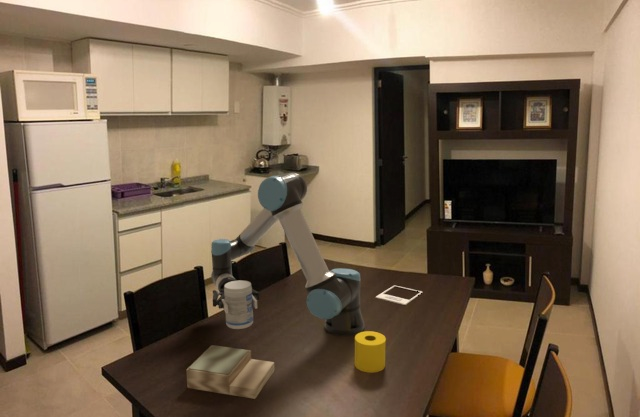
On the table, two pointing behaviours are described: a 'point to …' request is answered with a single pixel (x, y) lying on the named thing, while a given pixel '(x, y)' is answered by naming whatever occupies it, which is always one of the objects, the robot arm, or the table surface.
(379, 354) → the yellow hollow cylinder
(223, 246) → the robot arm
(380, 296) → the photo frame
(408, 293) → the table surface
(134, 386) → the table surface
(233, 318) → the supplement tub
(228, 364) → the birch riser
